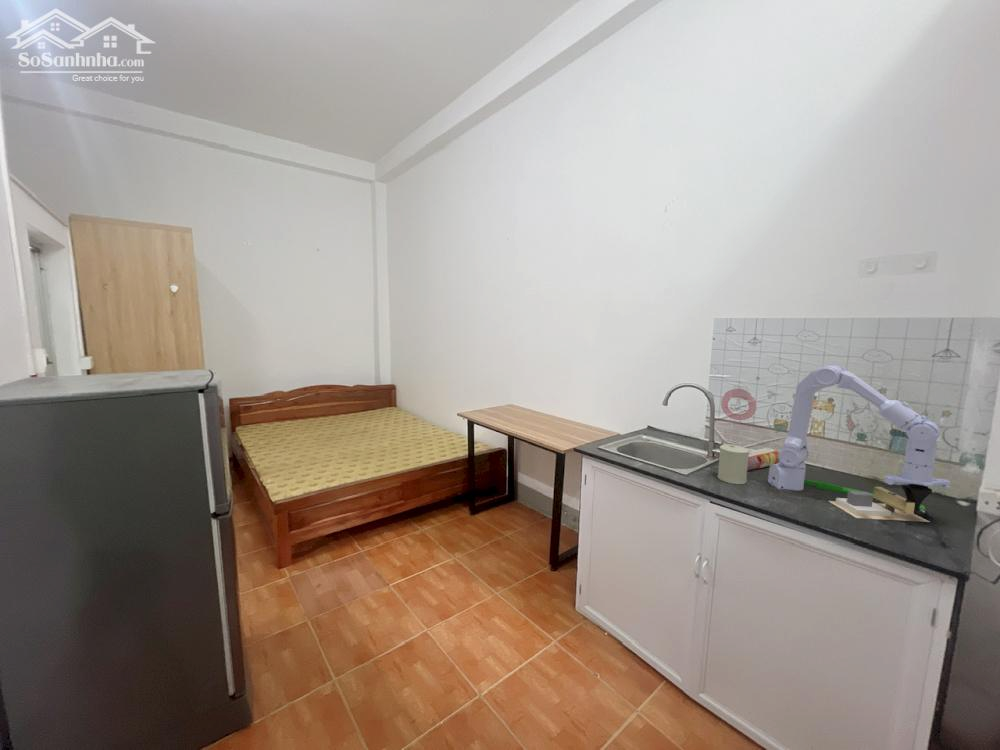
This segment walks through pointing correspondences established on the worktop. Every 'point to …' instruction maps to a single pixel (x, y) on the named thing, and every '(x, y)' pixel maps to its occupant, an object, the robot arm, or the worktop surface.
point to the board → (894, 516)
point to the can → (733, 464)
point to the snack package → (762, 458)
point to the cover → (862, 504)
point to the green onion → (837, 488)
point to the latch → (894, 500)
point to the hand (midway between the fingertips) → (912, 509)
